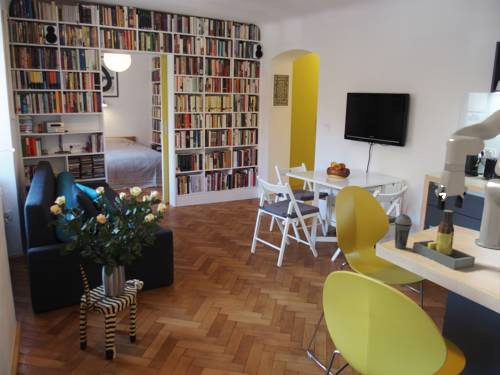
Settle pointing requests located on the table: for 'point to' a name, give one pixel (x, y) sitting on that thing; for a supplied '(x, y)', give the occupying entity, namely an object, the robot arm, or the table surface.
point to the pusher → (432, 245)
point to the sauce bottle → (445, 234)
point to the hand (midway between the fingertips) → (449, 208)
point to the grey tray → (444, 256)
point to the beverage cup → (402, 230)
